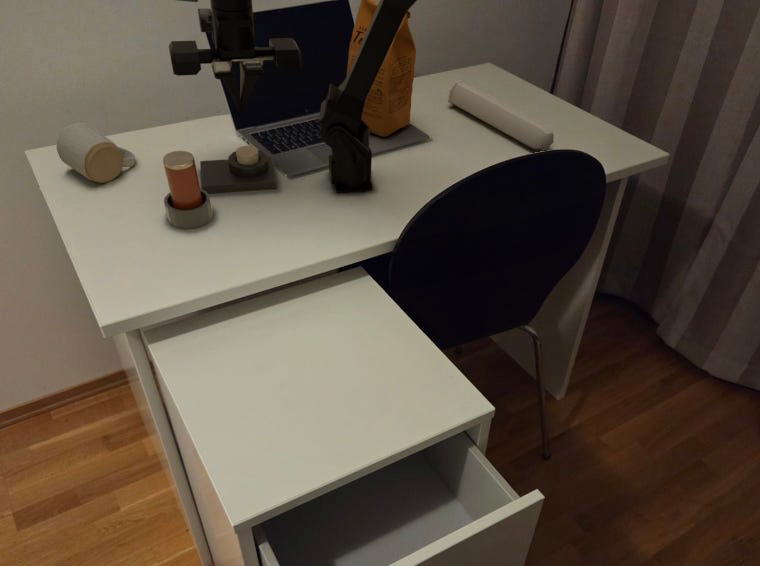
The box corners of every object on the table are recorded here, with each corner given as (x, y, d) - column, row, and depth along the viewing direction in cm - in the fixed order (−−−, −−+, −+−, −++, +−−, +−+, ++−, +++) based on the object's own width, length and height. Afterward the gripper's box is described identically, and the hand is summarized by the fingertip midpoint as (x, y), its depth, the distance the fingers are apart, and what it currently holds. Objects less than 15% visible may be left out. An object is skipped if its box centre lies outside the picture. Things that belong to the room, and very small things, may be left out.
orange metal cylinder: (204, 207, 102) (193, 149, 95) (205, 223, 99) (194, 165, 92) (176, 209, 101) (162, 151, 94) (176, 225, 98) (162, 167, 91)
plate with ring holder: (271, 165, 113) (270, 147, 110) (276, 191, 107) (274, 172, 105) (201, 170, 110) (198, 151, 108) (203, 196, 105) (199, 177, 102)
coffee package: (374, 104, 131) (378, -15, 115) (417, 127, 126) (427, 6, 110) (337, 117, 126) (336, -4, 110) (380, 142, 121) (385, 18, 105)
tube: (563, 130, 120) (469, 80, 132) (548, 128, 117) (453, 78, 128) (551, 156, 123) (460, 106, 135) (536, 156, 119) (444, 104, 131)
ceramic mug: (93, 192, 104) (79, 148, 98) (63, 173, 107) (49, 130, 101) (148, 168, 110) (138, 126, 104) (118, 151, 113) (107, 109, 107)
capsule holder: (212, 204, 103) (209, 185, 101) (213, 229, 99) (210, 209, 96) (168, 207, 102) (164, 188, 100) (168, 232, 98) (163, 213, 95)
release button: (258, 154, 109) (257, 144, 108) (259, 165, 107) (258, 155, 105) (236, 155, 108) (235, 146, 107) (238, 166, 106) (236, 157, 105)
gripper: (286, -16, 97) (289, 86, 108) (157, -15, 92) (175, 91, 103) (301, 11, 90) (303, 117, 101) (163, 13, 85) (182, 124, 96)
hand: (241, 111), depth 101 cm, fingers closed
